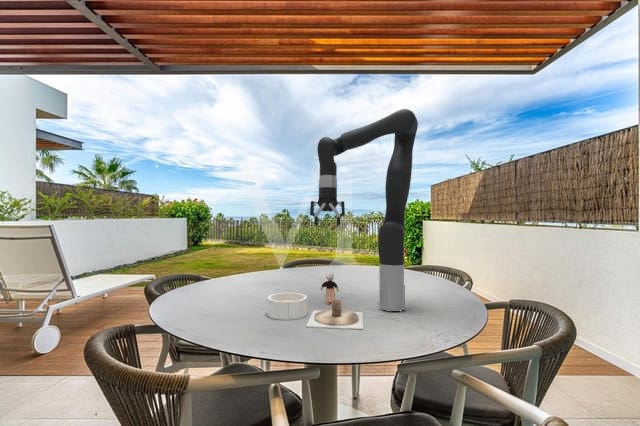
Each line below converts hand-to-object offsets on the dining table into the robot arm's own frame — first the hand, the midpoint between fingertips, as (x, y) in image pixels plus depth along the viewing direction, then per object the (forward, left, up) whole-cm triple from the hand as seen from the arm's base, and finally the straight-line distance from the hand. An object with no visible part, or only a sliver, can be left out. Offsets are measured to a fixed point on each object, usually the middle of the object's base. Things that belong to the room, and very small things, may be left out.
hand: (327, 226), depth 141 cm
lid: (-5, +24, -31) cm, 39 cm away
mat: (-5, +24, -31) cm, 39 cm away
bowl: (+13, +19, -31) cm, 38 cm away
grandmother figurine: (-1, +3, -31) cm, 31 cm away
